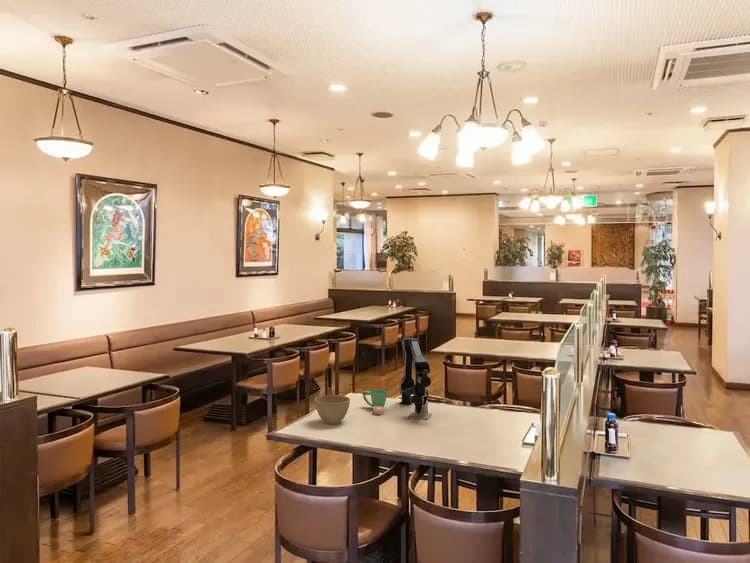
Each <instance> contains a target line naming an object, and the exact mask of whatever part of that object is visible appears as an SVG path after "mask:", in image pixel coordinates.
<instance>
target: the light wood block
mask: <svg viewBox="0 0 750 563" xmlns="http://www.w3.org/2000/svg"><path fill="white" fill-rule="evenodd" d="M425 405H426V413H429V411H428V410H429V406H428V405H429V402H428V400H427V401H426V403H425Z"/></svg>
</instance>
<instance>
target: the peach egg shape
mask: <svg viewBox="0 0 750 563" xmlns="http://www.w3.org/2000/svg"><path fill="white" fill-rule="evenodd" d="M384 414H385V406H384V407H382V406H374V407H372V415H373V416H374V415H375V416H383V415H384Z"/></svg>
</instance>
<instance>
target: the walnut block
mask: <svg viewBox="0 0 750 563" xmlns="http://www.w3.org/2000/svg"><path fill="white" fill-rule="evenodd" d="M414 412H415V416H420V417H424V416H425V415H426V405H422V408H421V411H420V414H417V411H416V407H415V406H414Z"/></svg>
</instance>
